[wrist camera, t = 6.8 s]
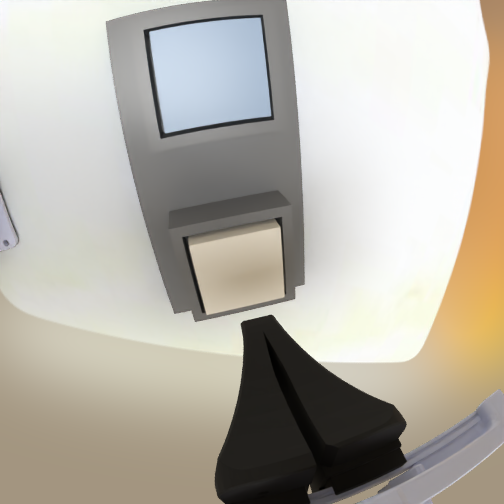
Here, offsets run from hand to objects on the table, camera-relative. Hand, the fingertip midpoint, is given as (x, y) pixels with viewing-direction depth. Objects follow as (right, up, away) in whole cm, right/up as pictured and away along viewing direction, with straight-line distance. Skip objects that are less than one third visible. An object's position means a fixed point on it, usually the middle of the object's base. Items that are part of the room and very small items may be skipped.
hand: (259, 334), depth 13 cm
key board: (-2, +9, +5) cm, 11 cm away
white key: (-1, +3, +6) cm, 7 cm away
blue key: (-3, +13, +1) cm, 13 cm away
